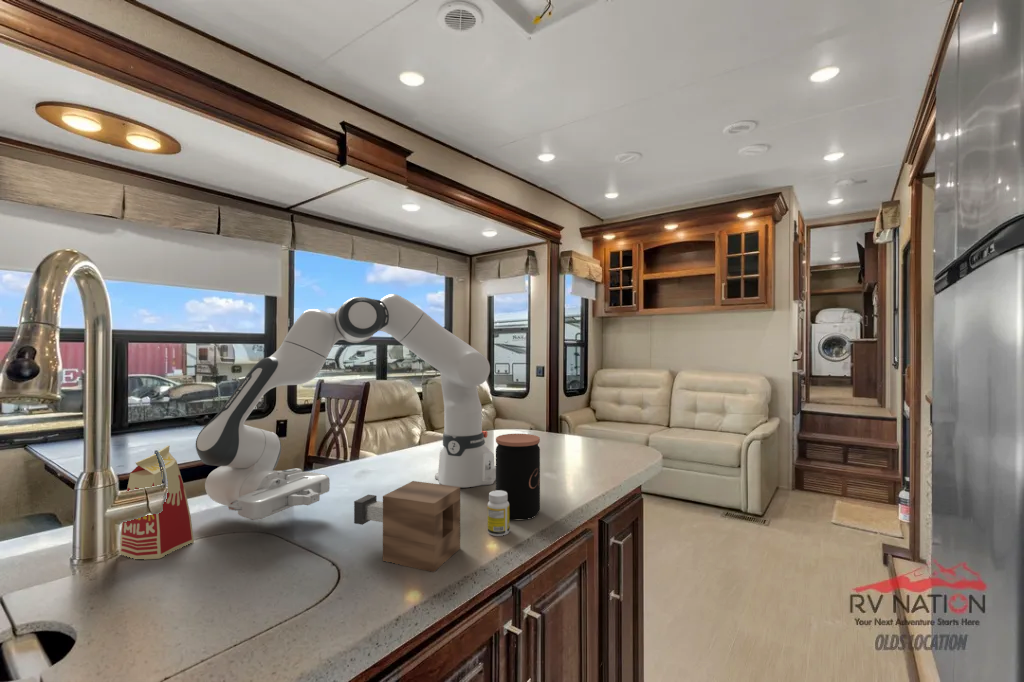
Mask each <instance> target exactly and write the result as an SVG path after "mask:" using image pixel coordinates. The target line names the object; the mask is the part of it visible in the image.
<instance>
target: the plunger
mask: <svg viewBox="0 0 1024 682" xmlns="http://www.w3.org/2000/svg"><path fill="white" fill-rule="evenodd" d="M353 505H354V506H353V518H354V519H353V523H354V524H355V525H356V524H357V525H360V526H361V525H362V526H363V525H364V524H366V523H368V522H370V521H374V522H378V523H383V501H378V500H377V495H374V494H367V495H365V496H363V497H360V498H358V499H356V500H354V501H353Z"/></svg>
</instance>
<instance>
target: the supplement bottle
mask: <svg viewBox="0 0 1024 682" xmlns="http://www.w3.org/2000/svg"><path fill="white" fill-rule="evenodd" d="M488 500H489V501H487V505H486V506H487V533H488V534H489V535H491V536H494V537H504V536H506V535H508V534H509V533H510V527H511V526H510V522H511V521H510V519H509V502H508V501H507V500H508V496H507V492H505V491H501V490H496V489H495V490H492V491H490V492H489V493H488ZM503 535H504V536H503Z"/></svg>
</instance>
